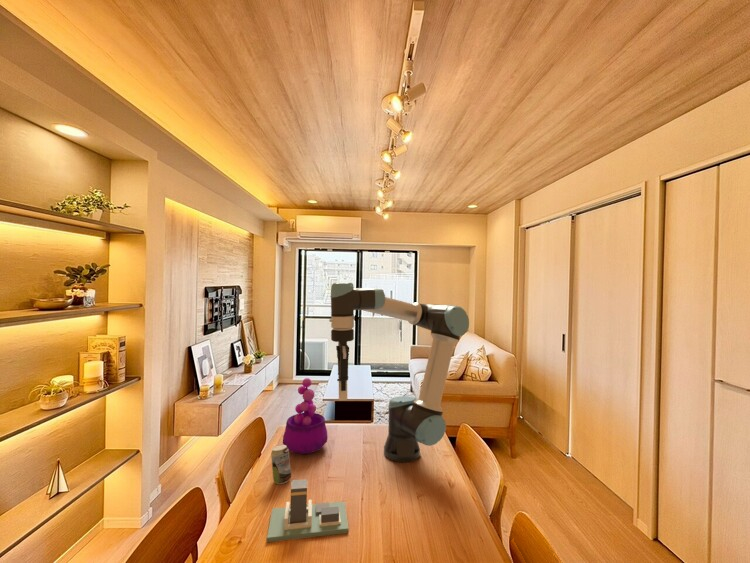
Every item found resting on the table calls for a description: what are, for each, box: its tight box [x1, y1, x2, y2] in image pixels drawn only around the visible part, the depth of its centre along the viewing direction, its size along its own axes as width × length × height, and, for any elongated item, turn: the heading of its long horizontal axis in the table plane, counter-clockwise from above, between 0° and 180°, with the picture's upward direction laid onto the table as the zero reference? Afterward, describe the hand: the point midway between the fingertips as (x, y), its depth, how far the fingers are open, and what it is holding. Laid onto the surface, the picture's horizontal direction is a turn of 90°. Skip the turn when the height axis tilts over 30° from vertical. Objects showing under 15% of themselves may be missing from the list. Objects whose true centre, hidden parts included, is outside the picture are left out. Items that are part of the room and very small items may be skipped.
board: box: [266, 499, 350, 543], centre depth 96 cm, size 22×12×4 cm, turn 101°
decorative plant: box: [282, 377, 328, 455], centre depth 141 cm, size 19×19×30 cm
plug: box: [290, 478, 308, 524], centre depth 96 cm, size 5×5×10 cm
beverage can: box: [270, 444, 292, 485], centre depth 117 cm, size 6×7×12 cm
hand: (343, 399), depth 110 cm, fingers closed
